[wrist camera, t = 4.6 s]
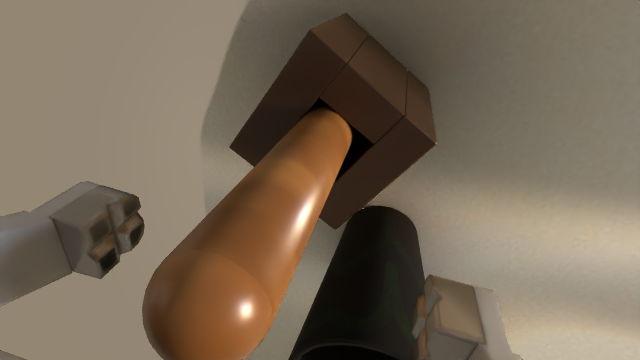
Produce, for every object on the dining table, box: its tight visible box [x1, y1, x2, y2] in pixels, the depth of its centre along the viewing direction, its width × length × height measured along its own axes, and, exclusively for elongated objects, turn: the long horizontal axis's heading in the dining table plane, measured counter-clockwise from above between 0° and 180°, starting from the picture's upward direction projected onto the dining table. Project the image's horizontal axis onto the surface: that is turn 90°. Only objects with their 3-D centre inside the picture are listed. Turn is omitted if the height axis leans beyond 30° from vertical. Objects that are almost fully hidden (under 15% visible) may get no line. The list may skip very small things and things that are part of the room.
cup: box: [289, 206, 425, 360], centre depth 21 cm, size 8×8×12 cm
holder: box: [230, 13, 437, 230], centre depth 18 cm, size 7×7×8 cm
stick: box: [142, 99, 357, 360], centre depth 13 cm, size 2×2×18 cm
